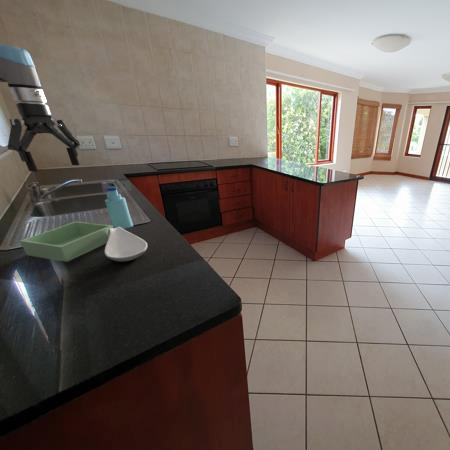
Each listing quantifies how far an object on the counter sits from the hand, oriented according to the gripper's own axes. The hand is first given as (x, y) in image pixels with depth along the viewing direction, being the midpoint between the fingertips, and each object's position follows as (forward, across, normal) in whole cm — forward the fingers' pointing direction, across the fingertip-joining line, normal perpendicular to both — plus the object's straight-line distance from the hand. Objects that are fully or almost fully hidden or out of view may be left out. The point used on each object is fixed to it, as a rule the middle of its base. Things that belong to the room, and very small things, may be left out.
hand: (56, 168), depth 87 cm
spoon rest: (+26, -8, -30) cm, 41 cm away
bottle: (+27, +9, -12) cm, 30 cm away
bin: (+27, -10, -10) cm, 30 cm away
